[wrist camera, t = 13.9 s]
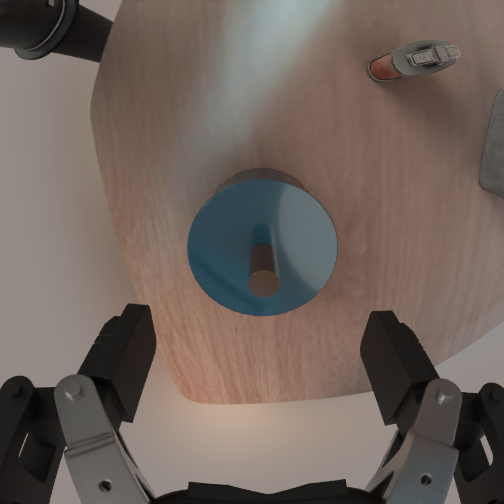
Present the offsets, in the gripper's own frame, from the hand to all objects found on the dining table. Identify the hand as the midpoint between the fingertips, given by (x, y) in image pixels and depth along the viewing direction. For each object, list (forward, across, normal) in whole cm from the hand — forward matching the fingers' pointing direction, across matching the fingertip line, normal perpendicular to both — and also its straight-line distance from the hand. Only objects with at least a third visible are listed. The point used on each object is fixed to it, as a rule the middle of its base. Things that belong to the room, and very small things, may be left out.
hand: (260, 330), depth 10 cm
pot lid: (+16, -1, +5) cm, 17 cm away
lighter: (+25, -16, -16) cm, 33 cm away
